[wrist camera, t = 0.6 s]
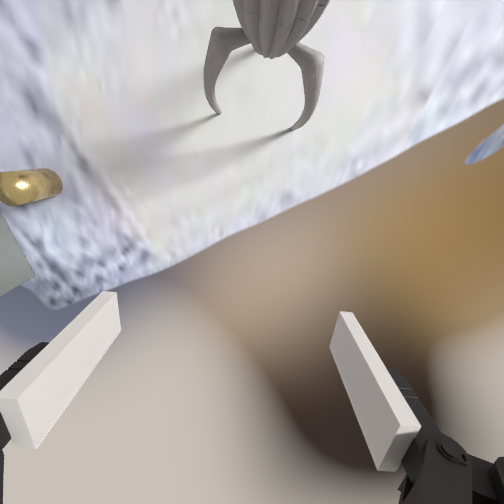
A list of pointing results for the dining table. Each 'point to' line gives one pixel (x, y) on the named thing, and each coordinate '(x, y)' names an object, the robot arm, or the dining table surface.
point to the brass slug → (28, 186)
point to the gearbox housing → (11, 260)
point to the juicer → (270, 43)
